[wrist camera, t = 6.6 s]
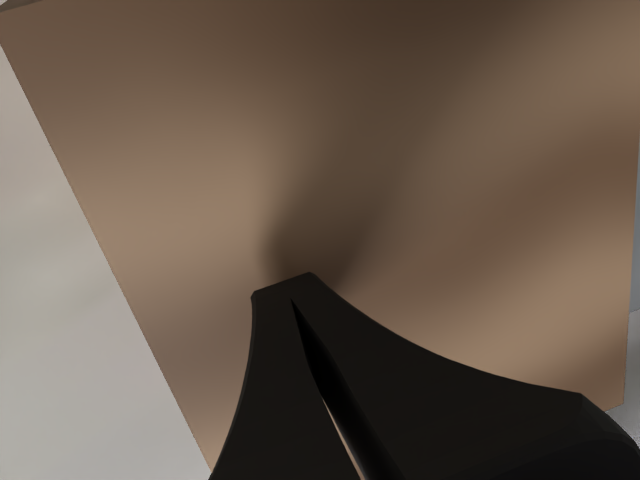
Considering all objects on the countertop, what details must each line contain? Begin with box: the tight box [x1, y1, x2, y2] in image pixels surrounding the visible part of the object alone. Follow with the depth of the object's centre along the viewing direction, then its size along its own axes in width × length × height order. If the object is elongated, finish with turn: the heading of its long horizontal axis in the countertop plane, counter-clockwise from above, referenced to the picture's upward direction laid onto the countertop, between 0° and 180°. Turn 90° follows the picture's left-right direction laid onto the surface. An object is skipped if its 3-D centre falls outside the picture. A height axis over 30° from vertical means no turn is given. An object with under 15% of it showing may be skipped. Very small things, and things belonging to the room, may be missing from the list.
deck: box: [0, 0, 640, 480], centre depth 16 cm, size 15×12×4 cm
